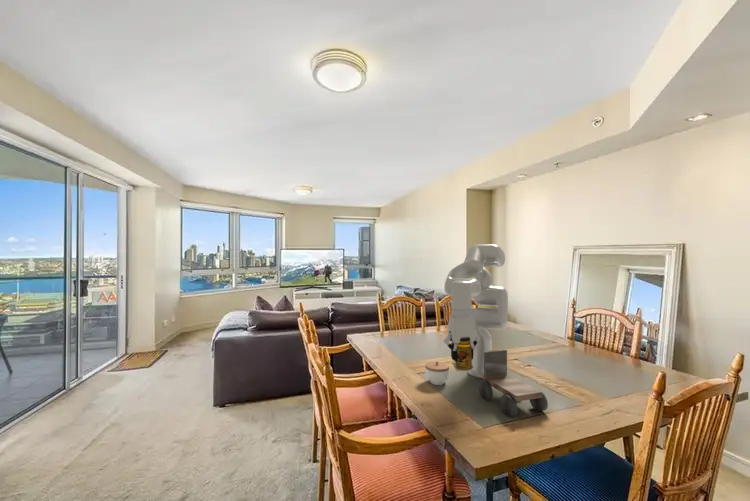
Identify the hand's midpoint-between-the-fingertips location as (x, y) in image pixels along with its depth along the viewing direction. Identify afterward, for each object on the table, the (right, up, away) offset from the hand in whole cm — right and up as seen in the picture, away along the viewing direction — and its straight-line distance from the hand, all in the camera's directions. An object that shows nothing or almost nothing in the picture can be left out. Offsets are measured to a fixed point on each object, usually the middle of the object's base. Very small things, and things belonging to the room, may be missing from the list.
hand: (462, 358), depth 129 cm
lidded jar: (-6, -18, +22) cm, 29 cm away
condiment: (0, -3, 0) cm, 3 cm away
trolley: (+19, -17, 0) cm, 25 cm away
